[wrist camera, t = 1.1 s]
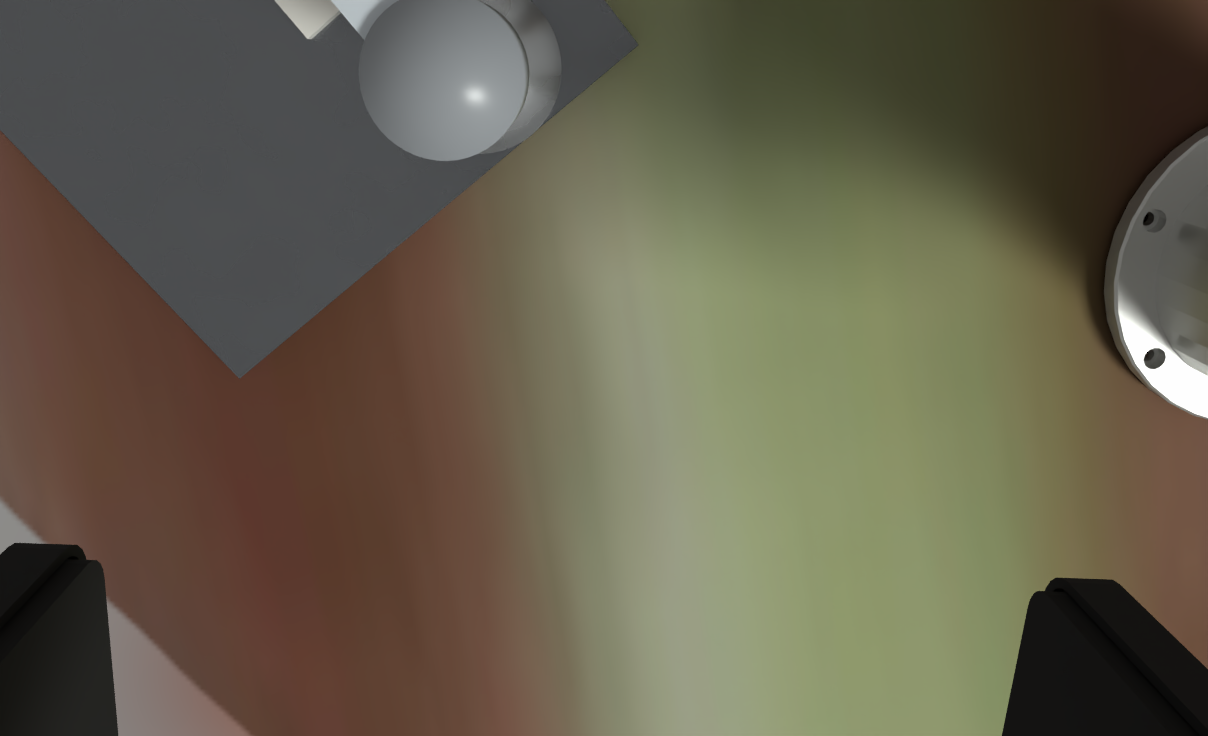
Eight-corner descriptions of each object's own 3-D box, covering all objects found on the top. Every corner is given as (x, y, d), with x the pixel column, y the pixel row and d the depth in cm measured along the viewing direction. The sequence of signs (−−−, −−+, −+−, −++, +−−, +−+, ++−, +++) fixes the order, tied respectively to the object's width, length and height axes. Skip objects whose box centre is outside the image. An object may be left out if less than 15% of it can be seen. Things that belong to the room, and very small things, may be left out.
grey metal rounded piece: (487, -58, 37) (466, -80, 30) (595, 81, 38) (598, 89, 32) (360, 54, 38) (313, 57, 31) (470, 185, 39) (447, 214, 33)
